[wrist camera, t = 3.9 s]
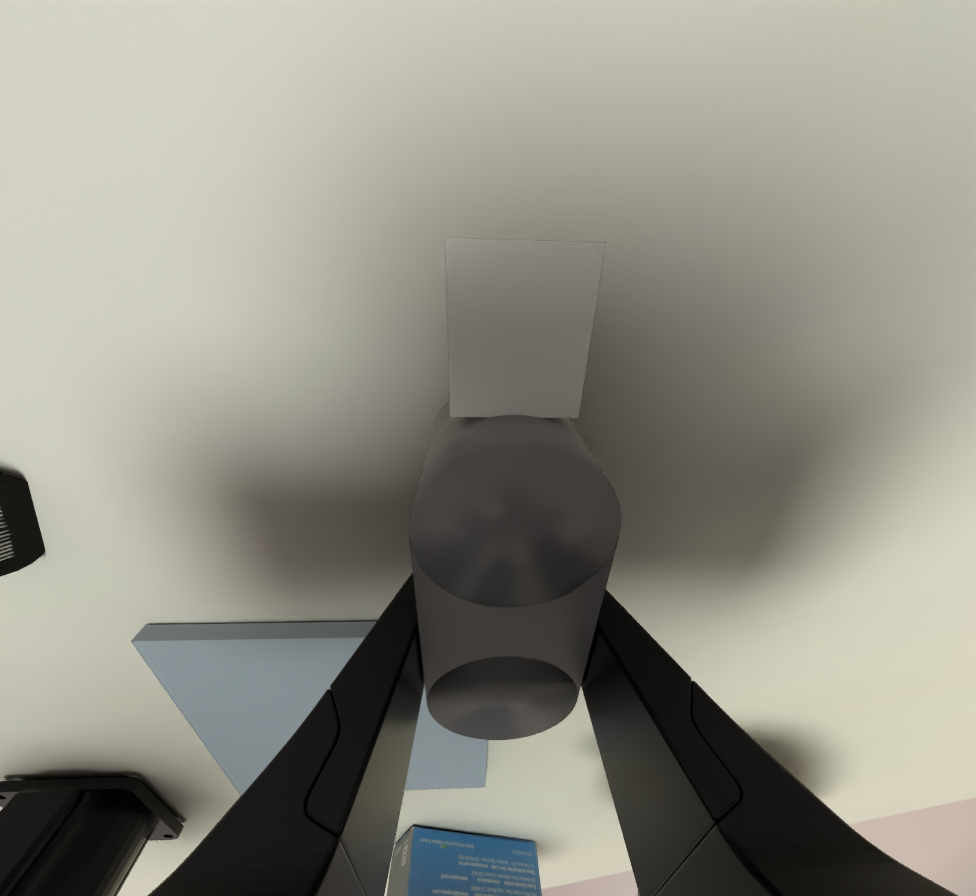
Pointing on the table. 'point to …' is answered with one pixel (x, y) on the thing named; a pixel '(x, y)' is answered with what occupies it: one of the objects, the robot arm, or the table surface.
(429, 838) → the label tape box
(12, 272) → the table surface
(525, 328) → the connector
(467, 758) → the rubber mat
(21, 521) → the electric trimmer
